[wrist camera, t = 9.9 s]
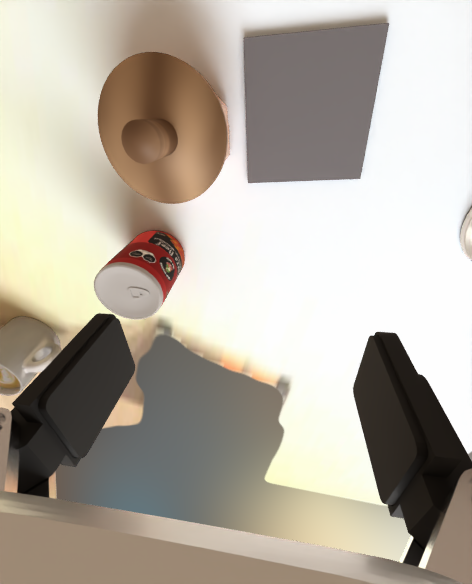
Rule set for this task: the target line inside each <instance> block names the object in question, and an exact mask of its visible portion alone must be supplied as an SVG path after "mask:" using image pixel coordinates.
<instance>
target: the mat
mask: <svg viewBox="0 0 472 584" xmlns="http://www.w3.org/2000/svg"><path fill="white" fill-rule="evenodd" d="M388 26H389V23H384V24H374V25H364V26H354V27H345V28H335V29H325V30H315V31H306V32H296V33H286V34H276V35H267V36H257V37H247V38H244V61H245V95H246V128H247V161H248V183H262V182H287V181H313V180H339V179H360V177H361V172H362V167H363V161H364V156H365V150H366V145H367V140H368V134H369V129H370V123H371V118H372V113H373V107H374V102H375V96H376V91H377V86H378V80H379V75H380V70H381V64H382V59H383V53H384V48H385V43H386V37H387V32H388Z"/></svg>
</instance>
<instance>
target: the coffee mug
mask: <svg viewBox="0 0 472 584" xmlns="http://www.w3.org/2000/svg"><path fill="white" fill-rule="evenodd" d="M60 352H61V348H60V341H59V338H58V336H57V335H56V334H55V332H54V331H53V330H52V329H51V328H50V327H48V326H47V325H45V324H44V323H42V322H40V321H38V320H36V319H33V318H29V317H16V318H13V319H12V320H11V321H9V322H8V323H7V324H6V325H4V326H3V327H2V328H0V395H7V396H11V395H16V394H18V393H20V392H21V391H22V390H23V389H24V388H25V387H26V385H27V384H28V383H29V382H30V381H31V380H32V379H33V378H34V376H35V375H36V374H37V373H38V372H41V371H43V370H44V369H45V368H46V367H47V366H48V365H49V364H50V363H51V362H52V361H53V360H54V359H55V357H56V356H57V355H58V354H59V353H60Z"/></svg>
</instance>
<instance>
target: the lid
mask: <svg viewBox="0 0 472 584" xmlns="http://www.w3.org/2000/svg"><path fill="white" fill-rule="evenodd" d="M98 126H99V133H100V137H101V142H102V145H103V147H104V150H105V153H106V155H107V157H108V159H109V161H110V163H111V164H112V166H113V168H114V169H115V171H116V172H117V173H118V175H119V176H120V177H121V178H122V179H123V180H124V182H125V183H127V184H128V185H129V186H130V187H131V188H132V189H134V190H135V191H136V192H138V193H139V194H141V195H143V196H144V197H146V198H149V199H151V200H154V201H157V202H161V203H168V204H176V203H183V202H187V201H190V200H192V199H195V198H196V197H198V196H200V195H201V194H202V193H204V192H205V191H206V190H207V189H208V188H209V187H210V186H211V185H212V184H213V182H214V181H215V180H216V178H217V177H218V175H219V173H220V171H221V169H222V167H223V164H224V161H225V157H226V153H227V144H228V133H227V125H226V120H225V116H224V112H223V109H222V106H221V104H220V102H219V100H218V97H217V95H216V94H215V92H214V90H213V89H212V87H211V86H210V84H209V83H208V82H207V81H206V80H205V78H204V77H203V76H202V75H201V74H200V73H199V72H198V71H196V70H195V69H194V68H192V67H191V66H190V65H188V64H187V63H185V62H184V61H182V60H180V59H178V58H176V57H173V56H171V55H168V54H164V53H158V52H145V53H140V54H136V55H133V56H131V57H129V58H127V59H125V60H124V61H122V62H121V63H120V64H119V65H118V66H116V67H115V68H114V70H113V71H112V72H111V73H110V75H109V76H108V78H107V80H106V82H105V84H104V86H103V89H102V91H101V95H100V99H99V105H98Z"/></svg>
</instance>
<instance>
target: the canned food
mask: <svg viewBox="0 0 472 584" xmlns="http://www.w3.org/2000/svg"><path fill="white" fill-rule="evenodd" d="M184 260H185V259H184V251H183V248H182V246H181V245H180V243H179V242H178V241H177V240H176V239H175V238H174V237H173V236H171V235H170V234H168V233H165V232H162V231H147V232H144V233H141V234H140V235H138V236H137V237H136V238H135V239H133V240H132V241H131V242H130V243H129V244H128V245H127V246H126V247H125V248H124V249H122V250H121V251H120V252H119V253H118V254H117V255H116V256H115V257H114V258H112V259H111V260H110V261H109V262H108V263H107V264H106V265H105V266H104V267H103V268H102V269H101V270H100V271H99V273H98V274H97V275H96V277H95V281H94V289H95V292H96V295H97V297H98V299H99V300H100V301H101V303H102V304H103V305H104V306H105V307H106V308H107V309H109V310H110V311H112V312H113V313H115V314H117V315H119V316H122V317H124V318H129V319H145V318H148V317H150V316H152V315H154V314H155V313H156V312H157V311H158V310H159V308H160V307H161V306H162V304H163V302H164V301H165V299H166V297H167V295H168V293H169V292H170V290H171V288H172V286H173V284H174V282H175V281H176V279H177V277H178V275H179V273H180V272H181V270H182V268H183V265H184Z"/></svg>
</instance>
